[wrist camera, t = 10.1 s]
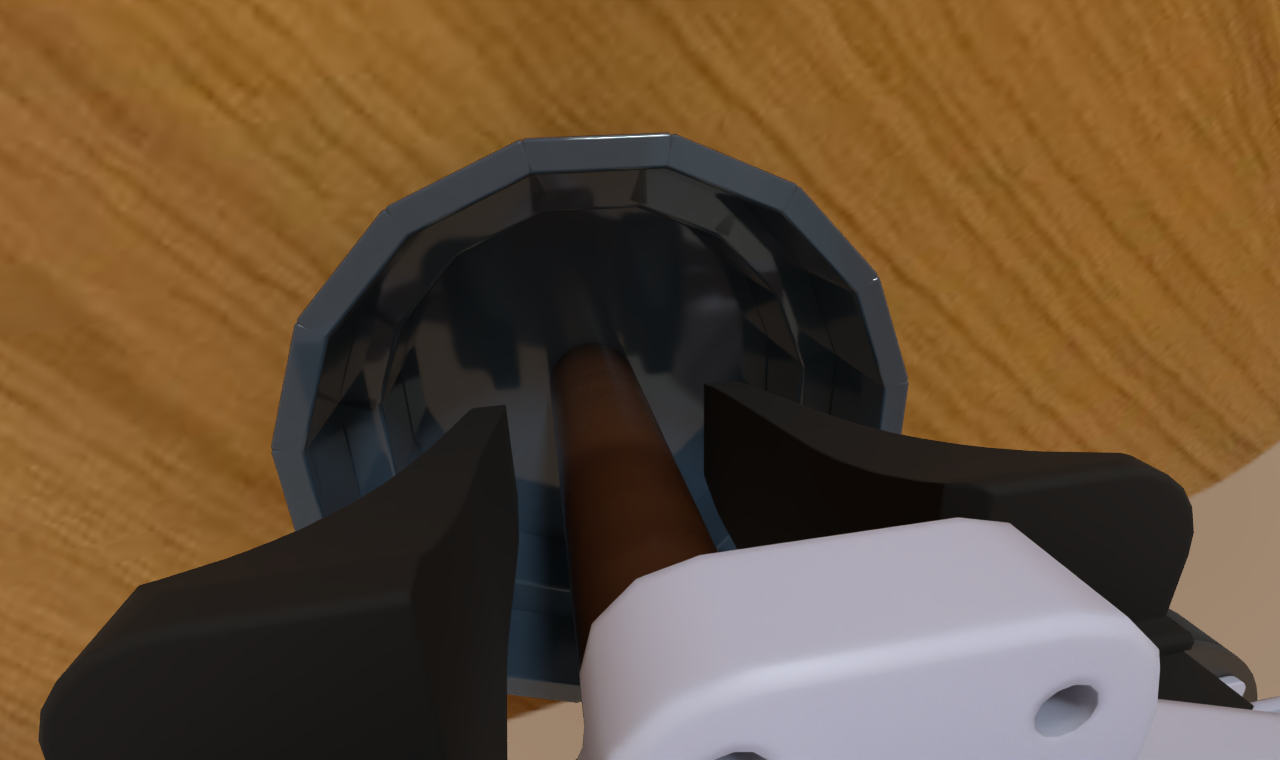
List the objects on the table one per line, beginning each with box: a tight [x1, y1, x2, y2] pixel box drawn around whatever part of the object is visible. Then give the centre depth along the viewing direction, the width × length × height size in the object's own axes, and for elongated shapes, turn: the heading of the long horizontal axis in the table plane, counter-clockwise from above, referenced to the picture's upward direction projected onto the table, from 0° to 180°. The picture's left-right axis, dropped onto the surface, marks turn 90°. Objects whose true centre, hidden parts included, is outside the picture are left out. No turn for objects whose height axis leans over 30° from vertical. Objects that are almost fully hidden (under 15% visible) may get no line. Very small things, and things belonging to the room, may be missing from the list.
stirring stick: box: [550, 344, 718, 717], centre depth 10 cm, size 2×2×10 cm
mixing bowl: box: [271, 133, 908, 703], centre depth 13 cm, size 11×11×4 cm
